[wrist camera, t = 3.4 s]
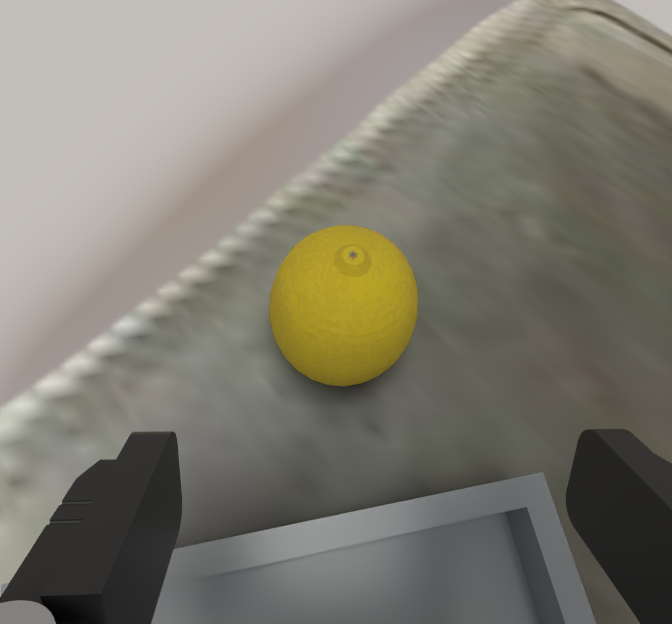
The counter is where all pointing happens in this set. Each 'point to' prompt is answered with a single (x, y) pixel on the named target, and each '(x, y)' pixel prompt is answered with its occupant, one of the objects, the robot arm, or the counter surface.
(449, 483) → the counter surface
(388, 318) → the lemon
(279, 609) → the tray
